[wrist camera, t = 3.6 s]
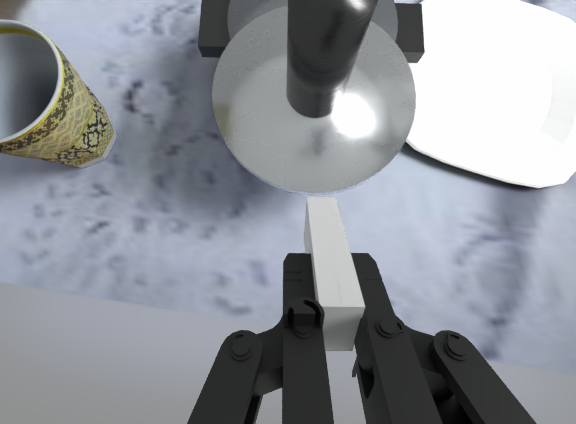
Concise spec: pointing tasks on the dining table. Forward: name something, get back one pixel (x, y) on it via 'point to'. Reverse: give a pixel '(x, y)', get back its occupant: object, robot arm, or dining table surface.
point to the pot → (253, 3)
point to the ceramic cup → (47, 103)
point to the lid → (314, 96)
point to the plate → (497, 90)
